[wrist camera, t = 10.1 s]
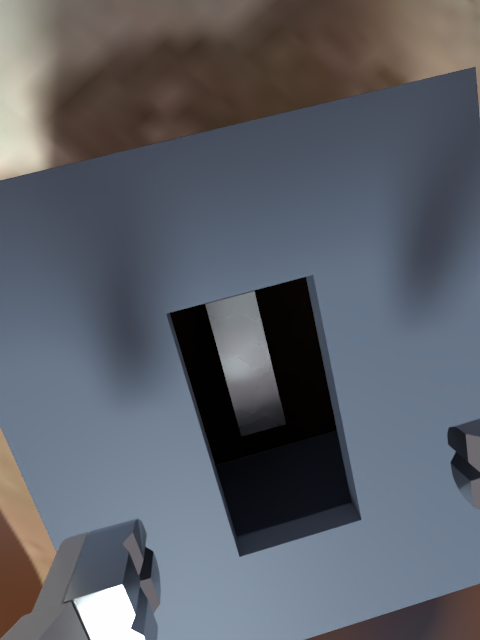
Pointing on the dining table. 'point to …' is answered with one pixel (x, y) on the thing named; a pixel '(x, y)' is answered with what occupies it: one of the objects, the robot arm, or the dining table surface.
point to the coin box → (334, 338)
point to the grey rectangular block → (246, 362)
